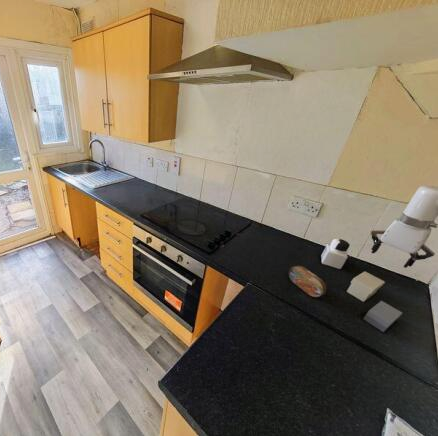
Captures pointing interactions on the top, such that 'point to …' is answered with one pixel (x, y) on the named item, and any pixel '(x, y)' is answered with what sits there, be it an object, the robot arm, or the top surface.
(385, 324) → the grey block
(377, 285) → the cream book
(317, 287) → the tin
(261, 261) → the top surface
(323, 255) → the container
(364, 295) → the beige block
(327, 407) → the top surface
